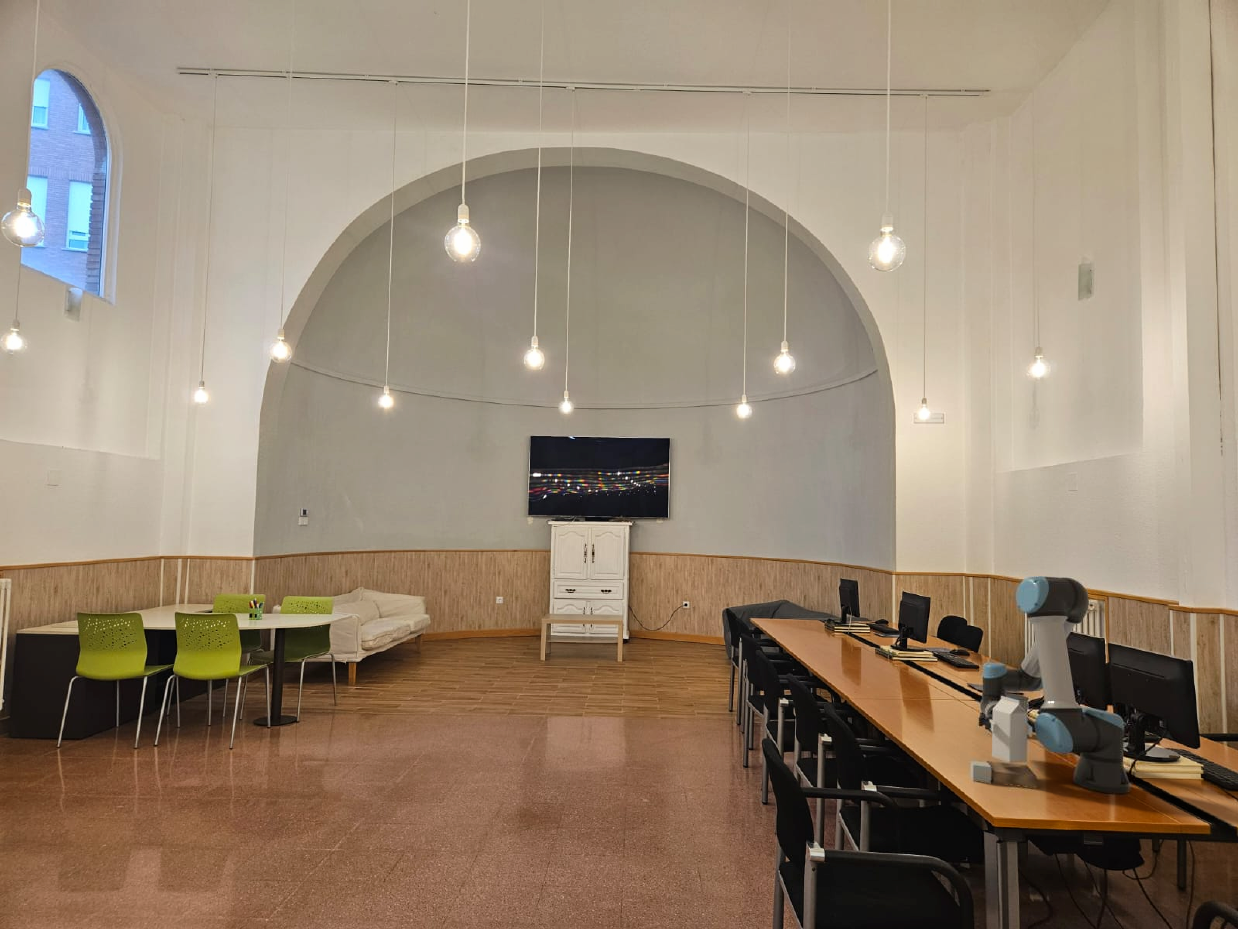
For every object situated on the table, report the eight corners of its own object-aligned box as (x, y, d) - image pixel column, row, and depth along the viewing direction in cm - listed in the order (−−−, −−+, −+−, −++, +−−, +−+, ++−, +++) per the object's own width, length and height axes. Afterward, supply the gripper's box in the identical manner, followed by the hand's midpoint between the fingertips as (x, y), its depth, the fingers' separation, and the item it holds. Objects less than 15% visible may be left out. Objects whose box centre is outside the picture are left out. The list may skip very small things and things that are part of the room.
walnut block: (1026, 778, 263) (1027, 765, 263) (1036, 789, 252) (1036, 776, 252) (986, 773, 266) (986, 761, 266) (993, 784, 254) (994, 771, 255)
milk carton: (1009, 763, 255) (1010, 701, 256) (991, 757, 262) (992, 696, 263) (1027, 762, 257) (1027, 700, 259) (1008, 755, 264) (1009, 695, 265)
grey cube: (987, 779, 259) (987, 762, 259) (990, 783, 254) (990, 767, 255) (970, 777, 260) (970, 760, 261) (973, 781, 256) (973, 765, 256)
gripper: (1035, 730, 274) (1052, 747, 253) (963, 722, 280) (973, 738, 259) (1035, 707, 275) (1052, 722, 253) (963, 700, 281) (973, 714, 259)
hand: (1012, 730), depth 256 cm, fingers closed on milk carton, 10 cm apart
